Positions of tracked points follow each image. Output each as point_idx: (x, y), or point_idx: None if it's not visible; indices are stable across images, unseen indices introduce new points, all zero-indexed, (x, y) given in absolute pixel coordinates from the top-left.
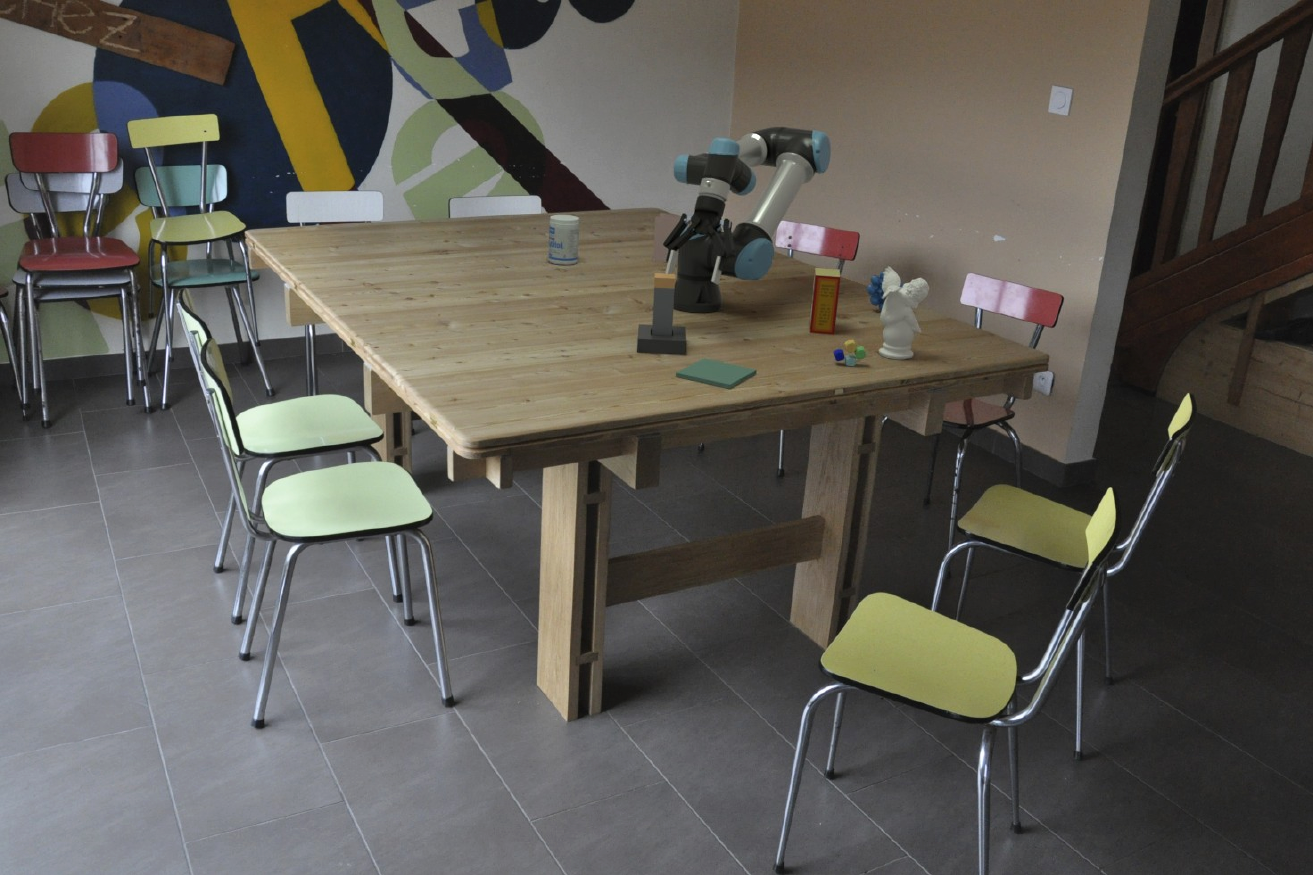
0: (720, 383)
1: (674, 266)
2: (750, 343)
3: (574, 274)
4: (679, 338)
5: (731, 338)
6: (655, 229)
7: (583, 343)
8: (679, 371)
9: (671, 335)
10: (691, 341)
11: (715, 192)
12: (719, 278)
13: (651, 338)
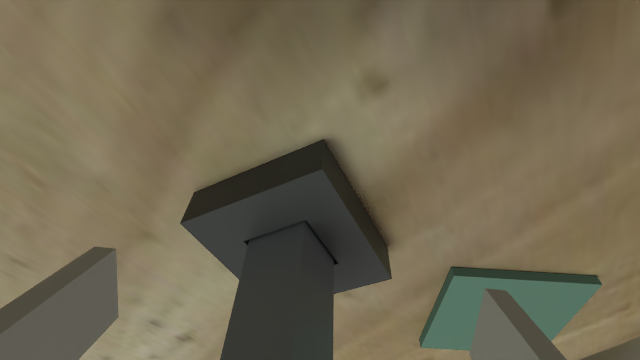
0: None
1: (57, 303)
2: (584, 37)
3: None
4: (364, 271)
5: (488, 16)
6: None
7: (140, 282)
8: (425, 342)
9: (332, 263)
10: (352, 142)
11: None
12: (527, 321)
13: None
